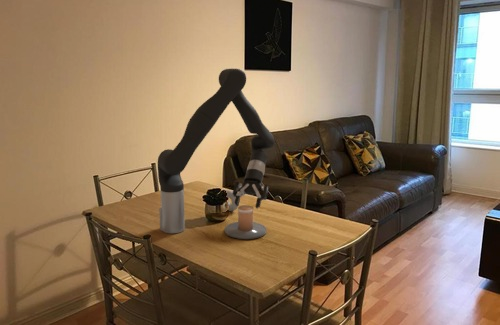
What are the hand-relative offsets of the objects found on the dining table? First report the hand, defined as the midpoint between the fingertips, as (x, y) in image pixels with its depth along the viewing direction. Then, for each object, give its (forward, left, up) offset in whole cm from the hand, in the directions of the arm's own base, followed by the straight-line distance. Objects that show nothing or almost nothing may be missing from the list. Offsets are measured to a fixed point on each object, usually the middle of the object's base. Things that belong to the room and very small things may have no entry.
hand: (246, 206), depth 170 cm
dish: (0, -1, -10) cm, 11 cm away
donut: (-15, +22, -11) cm, 28 cm away
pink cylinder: (0, -1, -9) cm, 9 cm away
